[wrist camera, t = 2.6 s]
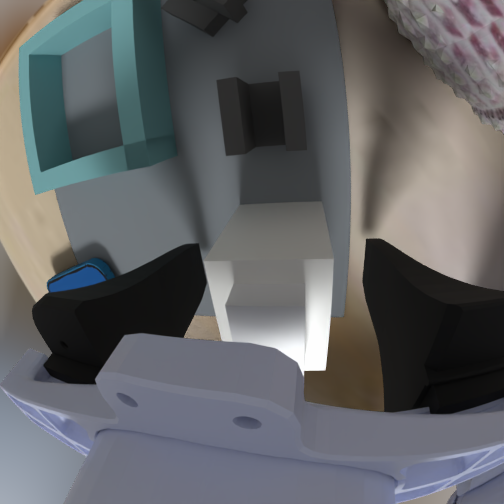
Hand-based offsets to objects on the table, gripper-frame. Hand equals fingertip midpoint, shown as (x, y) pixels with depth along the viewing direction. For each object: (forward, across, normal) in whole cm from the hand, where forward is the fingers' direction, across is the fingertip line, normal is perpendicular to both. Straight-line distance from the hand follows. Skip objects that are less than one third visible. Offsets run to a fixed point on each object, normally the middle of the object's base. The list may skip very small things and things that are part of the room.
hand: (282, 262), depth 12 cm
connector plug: (+1, 0, 0) cm, 1 cm away
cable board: (+2, +5, -5) cm, 7 cm away
